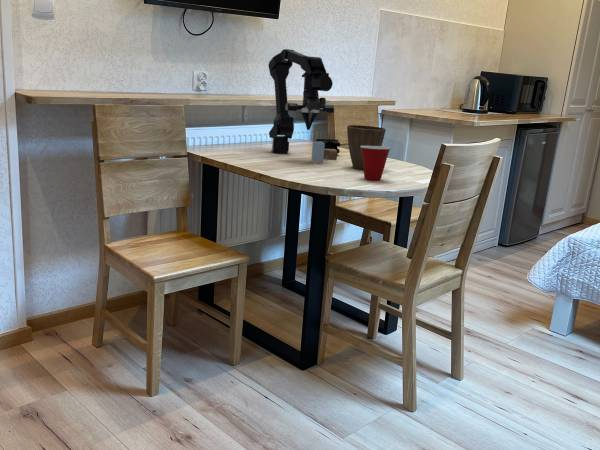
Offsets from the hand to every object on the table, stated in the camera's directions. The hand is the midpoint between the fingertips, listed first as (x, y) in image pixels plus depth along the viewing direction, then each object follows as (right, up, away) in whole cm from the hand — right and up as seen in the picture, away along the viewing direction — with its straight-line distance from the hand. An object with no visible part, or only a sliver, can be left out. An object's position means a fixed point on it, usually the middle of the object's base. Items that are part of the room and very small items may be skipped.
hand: (308, 129), depth 236 cm
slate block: (+4, -13, +3) cm, 13 cm away
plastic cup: (+22, -22, -25) cm, 40 cm away
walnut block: (+4, -8, +11) cm, 14 cm away
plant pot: (+21, -16, -4) cm, 27 cm away
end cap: (+8, -7, +24) cm, 27 cm away
